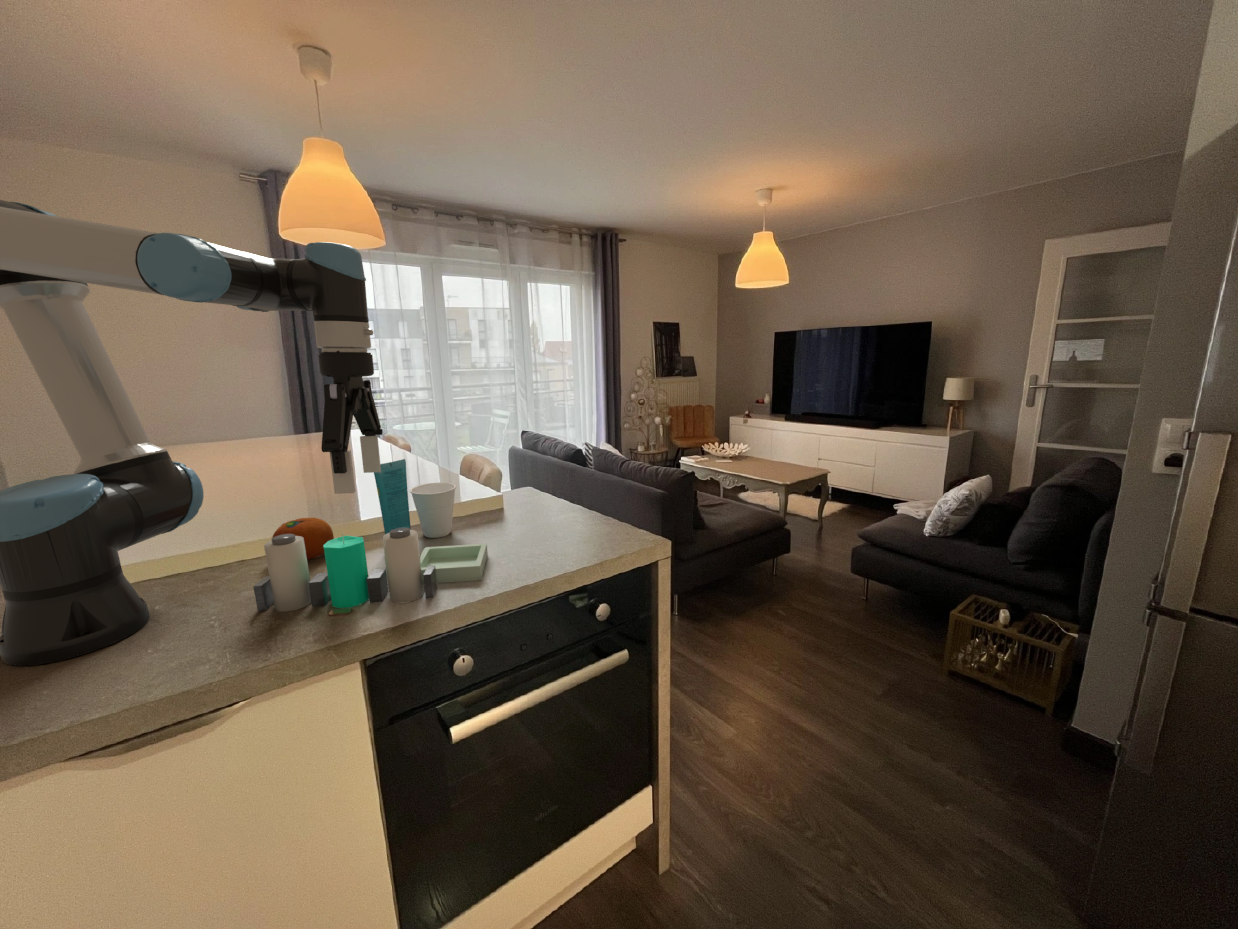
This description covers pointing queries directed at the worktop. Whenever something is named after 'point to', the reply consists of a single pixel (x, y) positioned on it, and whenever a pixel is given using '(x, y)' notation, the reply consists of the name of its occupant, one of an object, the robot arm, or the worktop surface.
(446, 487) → the cup
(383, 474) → the tube
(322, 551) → the fruit
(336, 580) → the candle
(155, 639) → the worktop surface
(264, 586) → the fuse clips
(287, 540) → the cylinder
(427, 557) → the tray
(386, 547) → the fuse right
